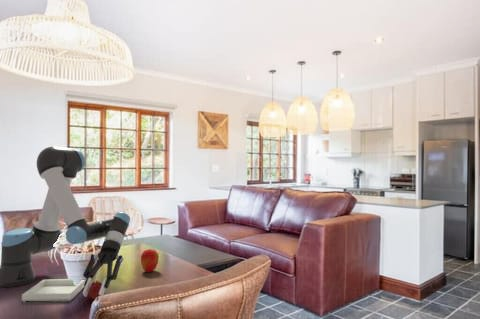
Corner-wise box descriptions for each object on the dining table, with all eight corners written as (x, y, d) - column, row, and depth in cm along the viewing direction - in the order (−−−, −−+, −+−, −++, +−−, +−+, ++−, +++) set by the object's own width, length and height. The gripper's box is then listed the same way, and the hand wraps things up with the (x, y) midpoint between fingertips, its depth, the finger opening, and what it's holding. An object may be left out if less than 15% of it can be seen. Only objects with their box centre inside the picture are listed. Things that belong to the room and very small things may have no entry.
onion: (106, 297, 135) (107, 278, 135) (101, 303, 129) (102, 282, 130) (92, 297, 135) (93, 277, 135) (86, 303, 129) (87, 282, 129)
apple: (153, 274, 166) (153, 250, 167) (136, 273, 168) (137, 249, 168) (161, 269, 175) (161, 246, 176) (145, 268, 177) (146, 245, 178)
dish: (21, 302, 129) (21, 294, 129) (43, 286, 147) (43, 279, 147) (70, 301, 131) (70, 293, 131) (85, 285, 149) (86, 278, 149)
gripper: (135, 249, 148) (118, 300, 131) (94, 247, 149) (72, 298, 132) (131, 239, 143) (113, 291, 126) (88, 238, 144) (65, 289, 127)
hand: (92, 295), depth 129 cm, fingers closed on onion, 6 cm apart
